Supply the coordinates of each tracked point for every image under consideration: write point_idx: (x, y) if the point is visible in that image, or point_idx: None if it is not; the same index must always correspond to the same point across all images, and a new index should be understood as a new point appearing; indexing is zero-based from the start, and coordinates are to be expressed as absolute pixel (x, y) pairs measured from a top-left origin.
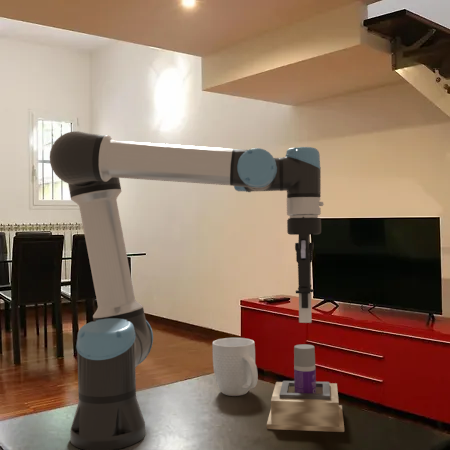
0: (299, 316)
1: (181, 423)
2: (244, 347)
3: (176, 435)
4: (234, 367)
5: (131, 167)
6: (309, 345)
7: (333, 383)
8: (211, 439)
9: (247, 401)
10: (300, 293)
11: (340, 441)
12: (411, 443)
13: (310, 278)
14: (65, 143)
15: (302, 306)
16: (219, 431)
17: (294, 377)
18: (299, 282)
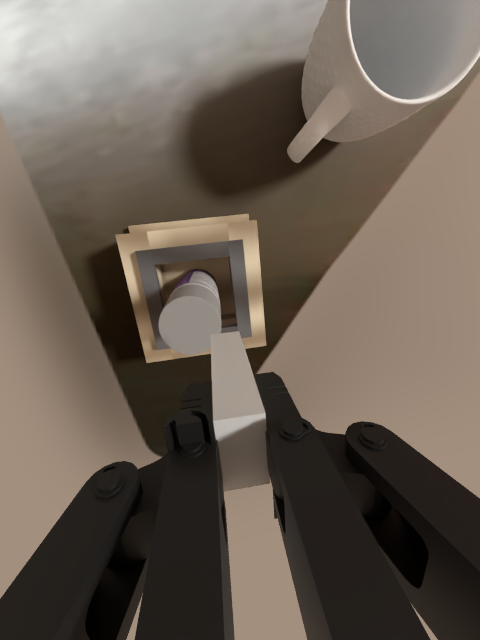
0: (211, 347)
1: (98, 15)
2: (356, 76)
3: (24, 28)
4: (314, 74)
5: None
6: (208, 338)
7: (265, 339)
8: (38, 125)
9: (274, 151)
10: (214, 432)
11: (119, 348)
12: (145, 428)
13: (403, 589)
14: None
15: (184, 394)
16: (85, 131)
17: (186, 280)
18: (18, 585)
